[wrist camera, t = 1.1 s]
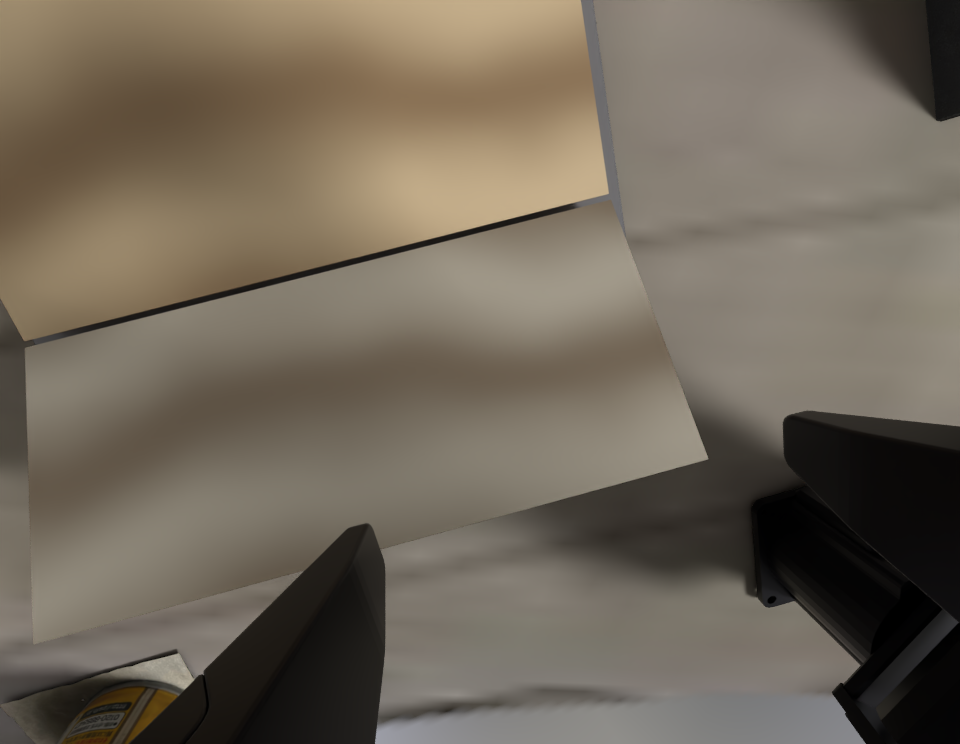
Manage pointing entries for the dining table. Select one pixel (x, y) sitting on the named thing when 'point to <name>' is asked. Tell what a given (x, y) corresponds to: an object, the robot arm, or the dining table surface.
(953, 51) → the ammunition clip
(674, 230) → the dining table surface
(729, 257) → the dining table surface
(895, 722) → the robot arm
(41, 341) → the underlay mat
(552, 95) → the plank
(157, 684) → the condiment
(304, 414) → the loose plank
